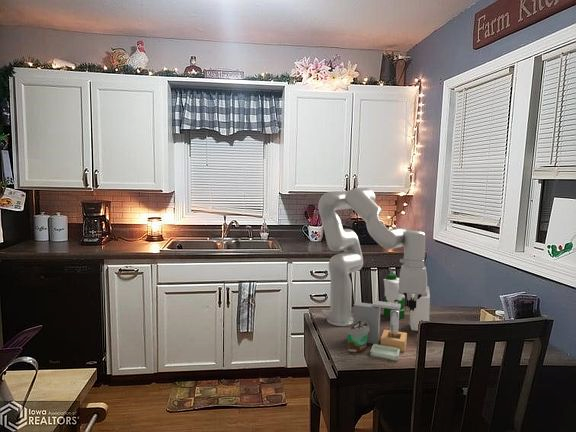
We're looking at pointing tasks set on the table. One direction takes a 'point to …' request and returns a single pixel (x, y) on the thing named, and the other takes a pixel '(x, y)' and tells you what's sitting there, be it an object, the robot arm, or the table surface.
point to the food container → (358, 337)
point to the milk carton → (420, 311)
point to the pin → (394, 324)
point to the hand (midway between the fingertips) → (412, 309)
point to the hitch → (377, 326)
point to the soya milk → (393, 295)
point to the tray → (385, 352)
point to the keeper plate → (387, 305)
